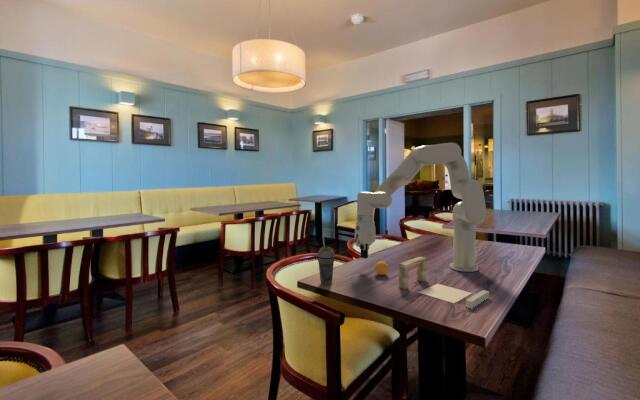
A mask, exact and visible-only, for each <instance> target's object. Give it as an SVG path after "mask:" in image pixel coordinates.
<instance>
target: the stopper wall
mask: <svg viewBox="0 0 640 400" xmlns="http://www.w3.org/2000/svg"><path fill="white" fill-rule="evenodd" d="M486 299H487V300H489V299H490V291H488V290H485V289H483V290H481V291H479V292H477V293H475V294H474V295H472V296H470V297H468V298H466V299H465V308H466V307H467V309H470V308H471V309H470V310H473V309H474V308H475V306H476V307H477V306H479V305H480V304H482V303H484V302H485V301H487V300H486ZM484 300H485V301H484ZM483 301H484V302H483ZM481 302H482V303H481ZM478 304H479V305H478ZM473 307H474V308H473Z"/></svg>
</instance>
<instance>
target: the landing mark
mask: <svg viewBox="0 0 640 400" xmlns="http://www.w3.org/2000/svg"><path fill="white" fill-rule="evenodd" d="M418 294H422V295H425V296H428V297H431V298H435V299H438V300H441V301H444V302H448V303H450V304H456V303H458V302H459V301H461V300H463V299H465V298H467V297H469V296H471V295H472V294H473V293H472V292H469V291H466V290H462V289H459V288H456V287H452V286H451V287H450V286H447V285H443V284H441V283H436V284H433V285H432V286H429V287H427V288H425V289H422V290H421V291H418Z"/></svg>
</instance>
